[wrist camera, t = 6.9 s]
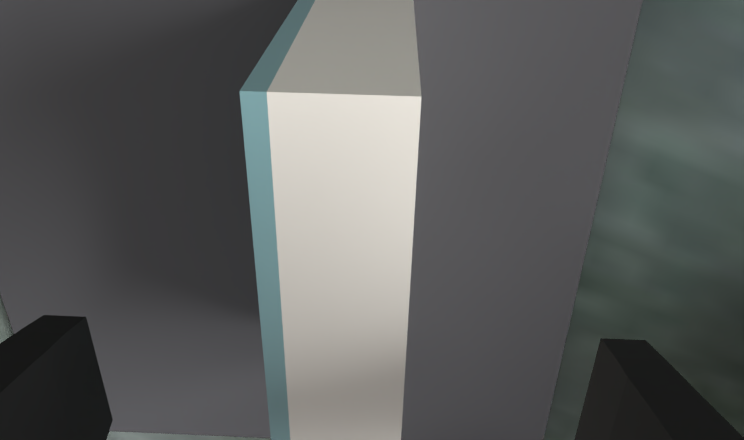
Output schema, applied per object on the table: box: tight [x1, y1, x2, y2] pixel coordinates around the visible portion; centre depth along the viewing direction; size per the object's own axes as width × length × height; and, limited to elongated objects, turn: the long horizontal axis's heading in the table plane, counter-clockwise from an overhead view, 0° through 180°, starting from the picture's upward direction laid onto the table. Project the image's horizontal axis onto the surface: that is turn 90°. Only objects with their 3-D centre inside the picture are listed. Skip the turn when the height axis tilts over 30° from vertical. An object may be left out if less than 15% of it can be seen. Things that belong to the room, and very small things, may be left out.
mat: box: [0, 0, 643, 440], centre depth 15 cm, size 18×15×1 cm
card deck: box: [240, 0, 422, 440], centre depth 12 cm, size 9×2×6 cm, turn 179°
